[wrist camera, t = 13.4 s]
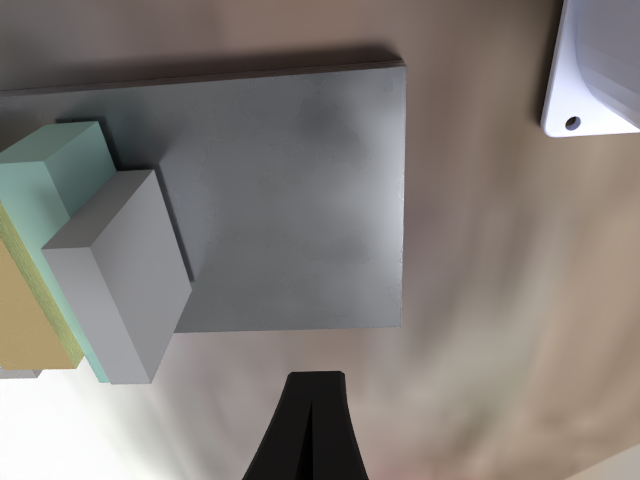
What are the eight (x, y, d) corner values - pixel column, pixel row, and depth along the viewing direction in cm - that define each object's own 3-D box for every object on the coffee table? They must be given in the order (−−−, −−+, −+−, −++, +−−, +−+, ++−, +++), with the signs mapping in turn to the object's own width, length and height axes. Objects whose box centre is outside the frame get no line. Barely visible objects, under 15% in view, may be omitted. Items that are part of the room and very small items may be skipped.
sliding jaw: (137, 117, 16) (61, 184, 12) (202, 321, 22) (166, 417, 17) (45, 124, 16) (-63, 191, 12) (132, 323, 22) (79, 418, 18)
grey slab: (403, 59, 16) (426, 109, 11) (399, 312, 22) (412, 408, 18) (-117, 99, 17) (-279, 157, 13) (22, 323, 24) (-53, 413, 20)
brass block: (64, 154, 17) (-14, 213, 14) (123, 292, 21) (75, 368, 17) (-9, 159, 18) (-104, 218, 14) (63, 294, 21) (3, 370, 18)
